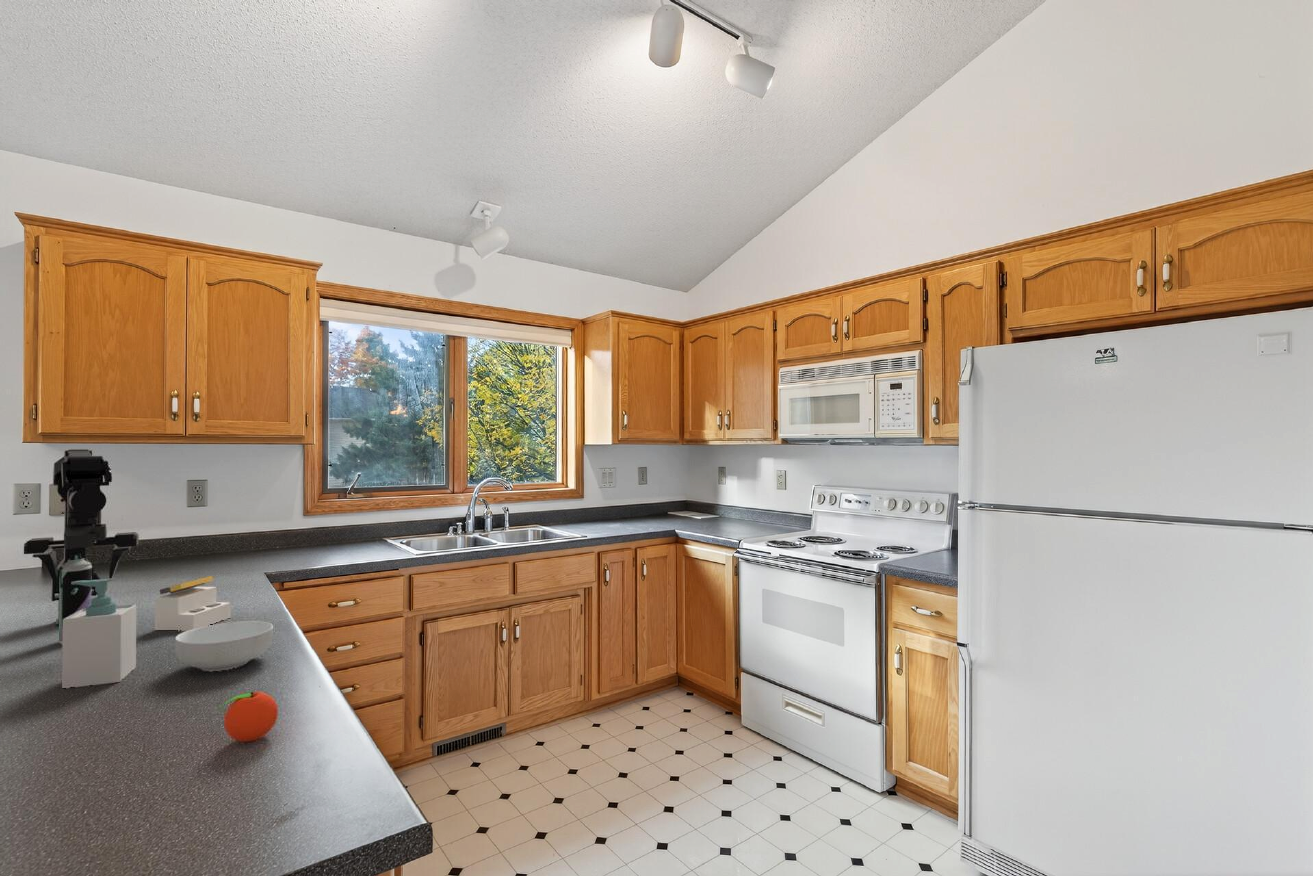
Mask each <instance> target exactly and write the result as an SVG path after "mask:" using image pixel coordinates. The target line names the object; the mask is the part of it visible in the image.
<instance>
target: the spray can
mask: <svg viewBox="0 0 1313 876" xmlns="http://www.w3.org/2000/svg"><path fill="white" fill-rule="evenodd" d="M91 565H92V562H90V561H89V562H87V561H85V560H84V558H82V557H81V554H71V558H70V559H69V560H68V562H66V563H64V564H63V565H61V566H60V567H61V568H60V582H59V594H58V595H59V625H58V644H59V645H62V644H63V619H65V618H67V617H68V616H70V615H72V614H74V613H76V612H78V611H80V610H81V609H84V608H86V607H87V606H88V605H91V599H92V596H91V591H92V587H90V586H84V585H78V584H73V585H72V584H71V582H75V581H82V580H92V567H93V565H92V566H91Z"/></svg>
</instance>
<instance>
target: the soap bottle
mask: <svg viewBox="0 0 1313 876" xmlns="http://www.w3.org/2000/svg"><path fill="white" fill-rule="evenodd" d="M115 579H116V578H115V577H112V578H111V579H109V578H103V579H100V580H82V581H75V582H71V584H72V585H73V584H78V585H84V586H90V587H94V586H95V591H96V592H97V595H96V596H93V597H91V605H88V606H87V607H86V608H84V609H81V610H80V611H78V612H76V613H74V614H72V615H70V616H68V617H67V618H65V619H63V644H61V646H62V652H61V655H62V658H61V659H62V660H61V661H62V662H61V664H62V665H61V666H62V668H61V688H66V689H71V688H70V687H75V688H82V687H91V686H90V685H92V686H99V685H106V684H115V683H116V682H117V683H120V682H121V681H123V680H122V679H125V678H126V677H127V676H128V675H129V674H131V671H132V670H133V671H134V670H135V669H136V667H137V605H136V604H134V603H133V604H124V605H117V603H116V602H114V601H112V596H111V595H106V592H107V590H108V582H111V581H114V580H115ZM133 671H132V672H133Z"/></svg>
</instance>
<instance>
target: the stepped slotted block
mask: <svg viewBox="0 0 1313 876" xmlns="http://www.w3.org/2000/svg"><path fill="white" fill-rule="evenodd" d="M217 589H218V588H217V586H198V587H194V588H190V589H187V590H183V591H180V592H176V593H172V594H171V593H170V592H169V593H168V594H167V593H165V594H162V595H159V596H156V597H155V598H154V599H155V600H154V601H155V603H154V604H155V605H154V607H155V609H154V615H155V616H154V631H155V630H178V631H177V632H186V631H188V630H192V629H196V628H200V627H204V626H208V625H210V624H213V625H215V624H214V623H216V622H218V623H220V622H219V621H221V620H224V621H226V620H225V619H227V618H230V619H231V618H232V602H226V601H225V602H222V601H218V602H217V599H218V598H217V596H218V595H217V593H218V592H217ZM227 620H228V619H227ZM221 622H222V621H221ZM216 624H217V623H216ZM180 630H181V631H180Z"/></svg>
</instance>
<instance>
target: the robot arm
mask: <svg viewBox="0 0 1313 876" xmlns="http://www.w3.org/2000/svg"><path fill="white" fill-rule="evenodd" d="M111 467H112V466H111V464H109V461H108V460H105V459H104V456H103V455H93V450H92V449H91V450H89V449H85V448H84V449H83V448H81V449H77V448H75V449H67V450H64V453H63V457H61V458H60V459H58V460H57V461H55V462H54V464H53V469H52V470H53V472H52V486H56V492H57V495H59V496H60V497H61V498H62V500H63V501H64V529H63V531H64V533H63V539H58V540H56V539H54V537H52V536H50V537H37V538H35V537H34V538H31V539H29V540H27V541H26V542H25V543H24V545H23V555H32V558H38V559H39V560H40V561H41V562H42V563H43V564H44V566H45V567H46V570H47V571H48V573H49V576H50V579H51V586H50V599H51V602H55V601H56V602H58V604H57V608H58V609H57V613H58V616H57V618H56V619H55V626H58V627H59V582H60V568H61V567H60V566H61V565H63V564H64V563H66V562H68V560H69V559H70V558H71V554H81V557H82V558H84V560H85V561H87V562H90V561H89V560H88V558H87V557H86V556H87V555H86V554H87V551H86V549H89V548H92V547H96V546H97V547H99V546H110V545H111V546H112V545H113V546H114V547H113V549H112V552H111V561H110V566H109V571H108V572H109V574H108V576H109V577H108V579H111V578H114V574H115V572H116V570H117V568H118V564H119V562H120V560H121V558H122V556H123V555H124V553H125V551H130V550H131V548H133V547H137V546H138V545H139V543H140V541H139V536H140V535H139V533H138V532H136V531H133V532H132V531H131V532H129V531H128V532H116V534H115V535H114V536H107V535H108V534H107V532H108V531H107V530H108V529H107V524H106V523H102V510H103V509H104V508H105V507H106V504H107V496H106V495H105V493H104V492H102V490H101V487H103V486H105V487H106V486H107V487H108V486H110V483H112V481H113V477H112V468H111ZM56 549H64V550H63V559H62V560H61V561H60V562H59V564H58V563H57V552H56ZM91 566H92V580H101V577H100V576H98V574H97V572H96V571H94V567H93V565H92V564H91ZM91 597H97V592H96V591H95V586H94V587H92V589H91Z"/></svg>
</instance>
